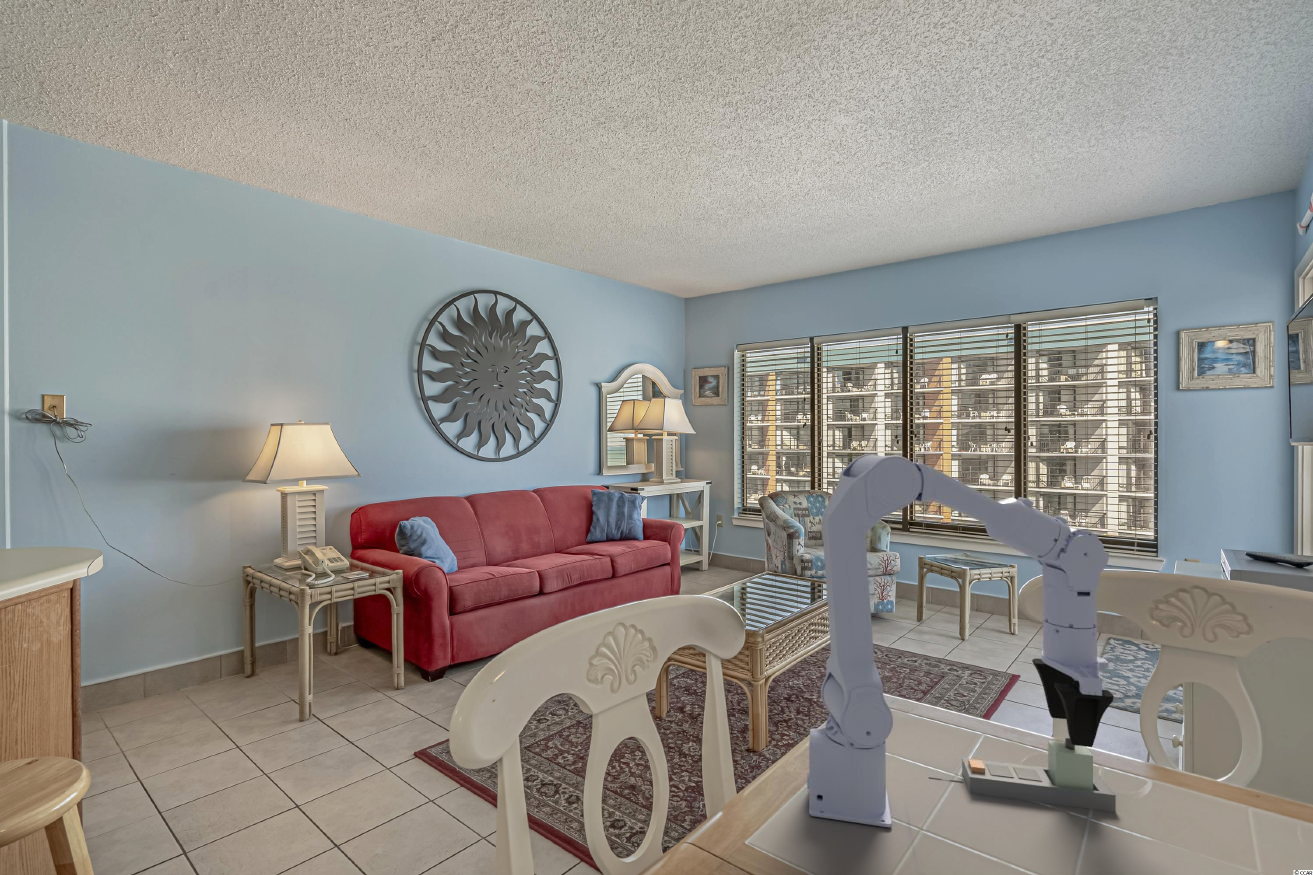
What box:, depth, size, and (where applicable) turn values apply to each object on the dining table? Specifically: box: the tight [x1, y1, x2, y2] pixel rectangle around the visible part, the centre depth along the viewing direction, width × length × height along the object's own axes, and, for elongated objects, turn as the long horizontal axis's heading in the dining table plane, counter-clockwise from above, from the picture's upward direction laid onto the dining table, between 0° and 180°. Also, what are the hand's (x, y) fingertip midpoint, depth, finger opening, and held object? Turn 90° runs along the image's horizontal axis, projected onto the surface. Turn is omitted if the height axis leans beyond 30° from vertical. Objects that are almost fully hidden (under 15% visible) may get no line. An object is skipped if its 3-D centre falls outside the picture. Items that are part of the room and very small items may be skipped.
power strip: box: [928, 757, 1117, 813], centre depth 82 cm, size 20×5×4 cm, turn 74°
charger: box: [1047, 737, 1094, 790], centre depth 80 cm, size 4×3×7 cm
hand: (1070, 730), depth 80 cm, fingers open, 7 cm apart
